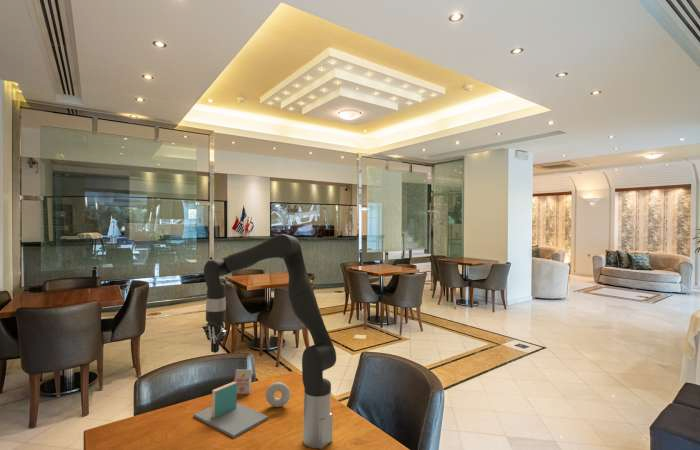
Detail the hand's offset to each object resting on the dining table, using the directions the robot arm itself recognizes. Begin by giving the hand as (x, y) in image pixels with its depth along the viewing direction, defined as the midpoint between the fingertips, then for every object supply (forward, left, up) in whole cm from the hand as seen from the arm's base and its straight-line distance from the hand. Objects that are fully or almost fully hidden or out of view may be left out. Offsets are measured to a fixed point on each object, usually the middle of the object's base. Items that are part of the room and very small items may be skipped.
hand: (214, 351), depth 147 cm
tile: (-7, 0, -17) cm, 18 cm away
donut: (-19, -17, -23) cm, 34 cm away
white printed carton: (+3, -17, -23) cm, 29 cm away
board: (-11, 0, -23) cm, 25 cm away
